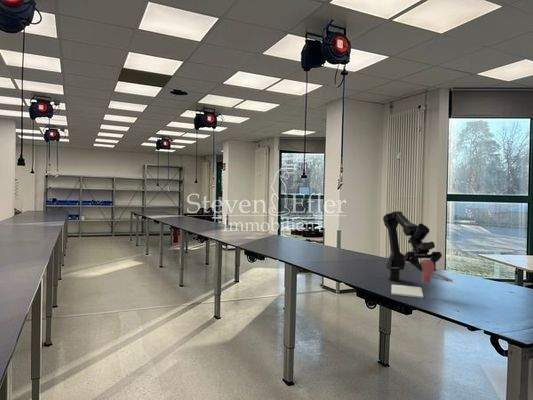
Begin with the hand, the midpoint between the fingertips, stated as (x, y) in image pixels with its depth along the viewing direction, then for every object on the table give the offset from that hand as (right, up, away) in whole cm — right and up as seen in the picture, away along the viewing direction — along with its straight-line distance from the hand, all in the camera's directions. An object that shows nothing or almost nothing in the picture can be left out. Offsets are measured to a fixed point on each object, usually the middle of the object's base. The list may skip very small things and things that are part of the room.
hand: (428, 270), depth 196 cm
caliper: (+23, -13, +42) cm, 50 cm away
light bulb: (0, -7, +2) cm, 7 cm away
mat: (-8, -12, +8) cm, 16 cm away
